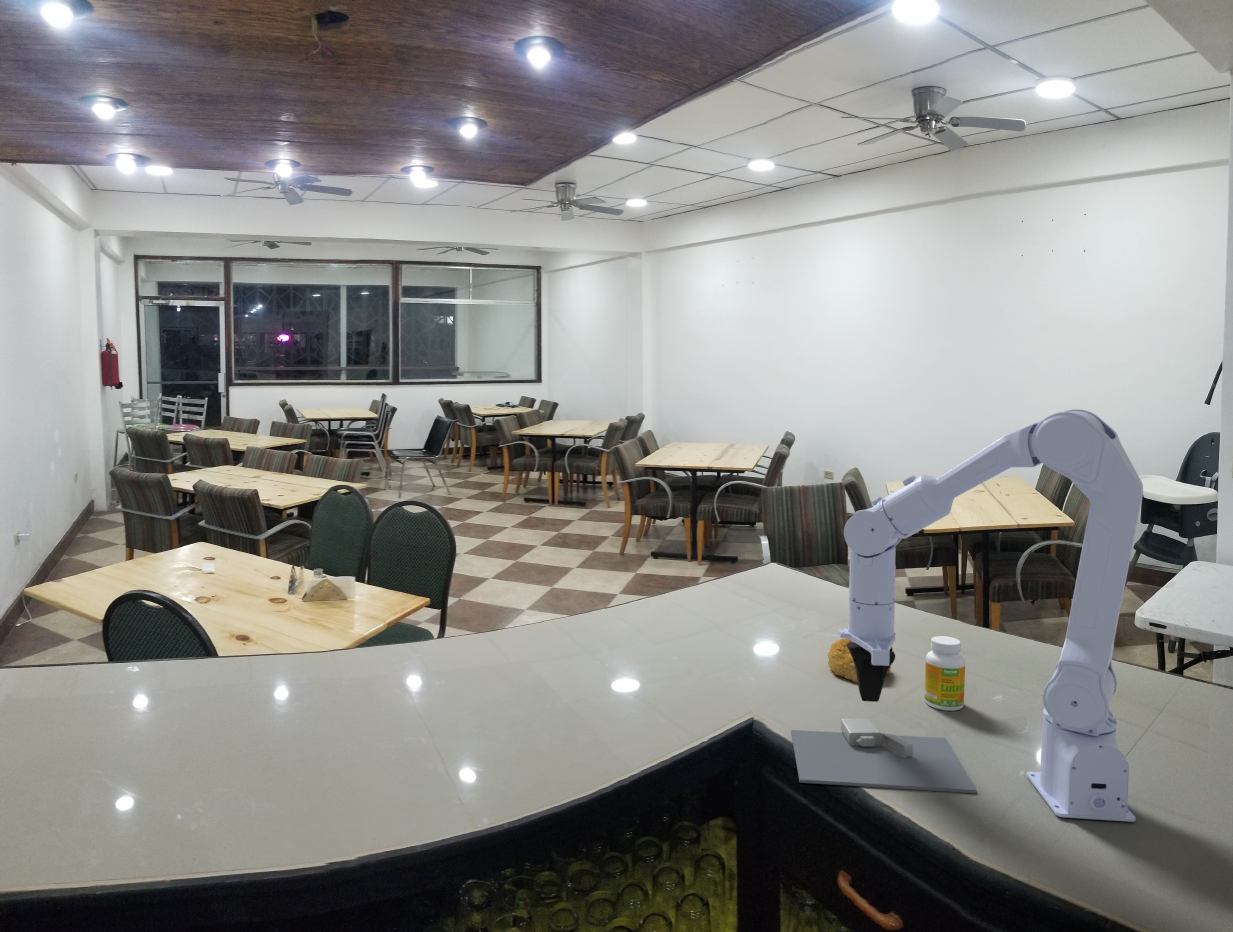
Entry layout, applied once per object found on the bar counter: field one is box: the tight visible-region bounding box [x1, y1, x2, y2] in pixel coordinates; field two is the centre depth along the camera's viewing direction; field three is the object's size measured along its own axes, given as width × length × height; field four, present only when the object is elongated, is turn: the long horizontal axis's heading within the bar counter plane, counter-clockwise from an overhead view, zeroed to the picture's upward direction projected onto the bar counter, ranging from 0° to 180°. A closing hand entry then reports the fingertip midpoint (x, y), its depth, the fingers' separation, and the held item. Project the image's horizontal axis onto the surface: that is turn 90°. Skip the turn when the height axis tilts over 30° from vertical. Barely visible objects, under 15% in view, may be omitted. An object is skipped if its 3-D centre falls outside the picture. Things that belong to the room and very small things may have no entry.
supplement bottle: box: [923, 635, 966, 712], centre depth 115 cm, size 5×5×10 cm
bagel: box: [827, 638, 892, 684], centre depth 129 cm, size 10×11×5 cm
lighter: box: [840, 718, 913, 758], centre depth 102 cm, size 7×2×8 cm
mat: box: [790, 729, 978, 794], centre depth 99 cm, size 14×20×1 cm
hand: (869, 699), depth 104 cm, fingers closed
